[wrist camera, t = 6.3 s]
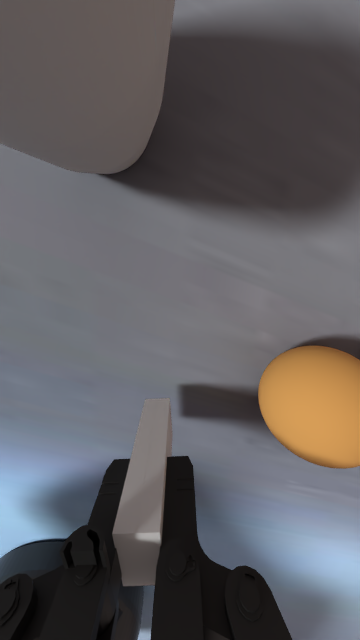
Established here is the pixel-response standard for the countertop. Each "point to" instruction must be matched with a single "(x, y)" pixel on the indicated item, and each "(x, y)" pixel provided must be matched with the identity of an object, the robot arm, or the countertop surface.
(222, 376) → the countertop surface
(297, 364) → the ball
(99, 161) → the cup
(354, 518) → the countertop surface
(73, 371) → the countertop surface
